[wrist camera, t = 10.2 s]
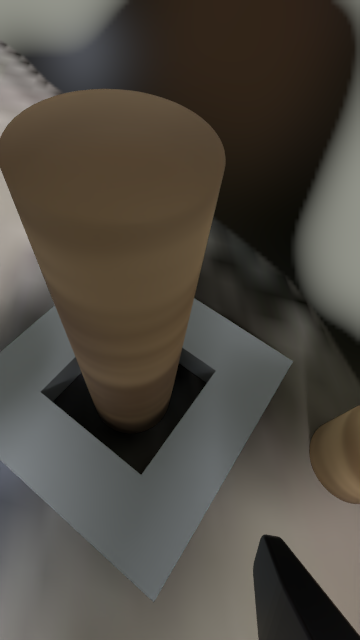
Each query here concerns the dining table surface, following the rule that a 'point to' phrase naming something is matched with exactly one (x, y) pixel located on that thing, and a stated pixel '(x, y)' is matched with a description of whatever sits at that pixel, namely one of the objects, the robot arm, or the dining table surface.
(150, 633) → the dining table surface
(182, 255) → the tall pin
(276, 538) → the robot arm
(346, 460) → the short pin
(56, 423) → the hole plate
